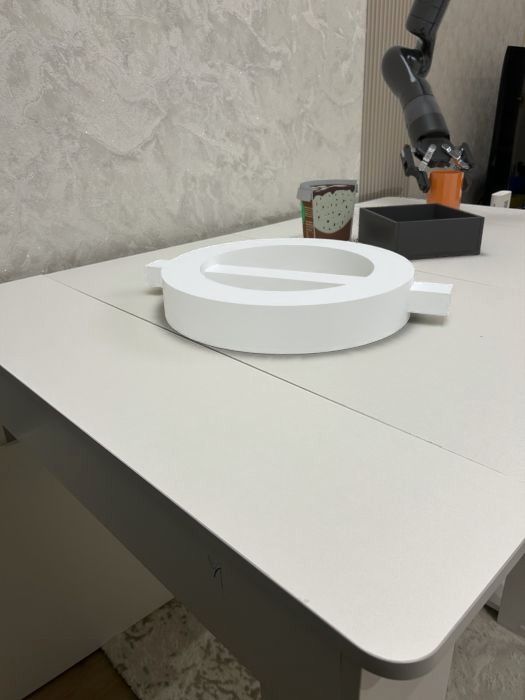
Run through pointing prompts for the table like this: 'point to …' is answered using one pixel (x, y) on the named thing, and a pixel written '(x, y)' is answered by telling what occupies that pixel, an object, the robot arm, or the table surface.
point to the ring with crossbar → (292, 294)
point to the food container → (328, 208)
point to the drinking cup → (445, 187)
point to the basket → (421, 230)
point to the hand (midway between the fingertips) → (447, 189)
